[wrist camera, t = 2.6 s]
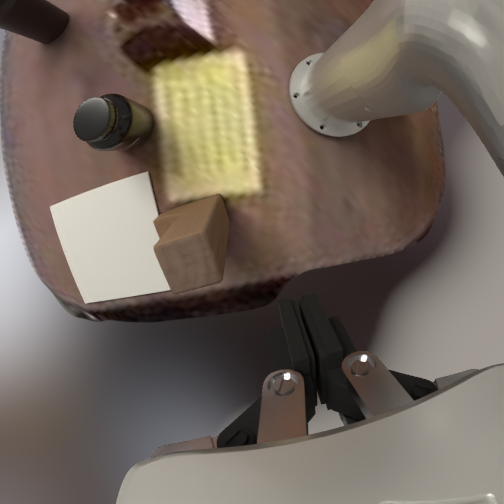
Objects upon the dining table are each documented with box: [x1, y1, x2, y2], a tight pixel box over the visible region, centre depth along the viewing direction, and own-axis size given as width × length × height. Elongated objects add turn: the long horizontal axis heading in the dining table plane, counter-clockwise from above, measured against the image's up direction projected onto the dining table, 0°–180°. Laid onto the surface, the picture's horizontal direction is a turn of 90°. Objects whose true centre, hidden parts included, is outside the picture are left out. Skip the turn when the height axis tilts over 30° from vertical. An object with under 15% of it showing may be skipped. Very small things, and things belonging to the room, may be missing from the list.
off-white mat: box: [50, 171, 171, 303], centre depth 38 cm, size 19×18×1 cm
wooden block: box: [153, 194, 230, 294], centre depth 29 cm, size 9×4×18 cm, turn 106°
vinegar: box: [0, 0, 68, 44], centre depth 14 cm, size 7×7×20 cm
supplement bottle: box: [73, 94, 153, 151], centre depth 26 cm, size 7×7×12 cm
